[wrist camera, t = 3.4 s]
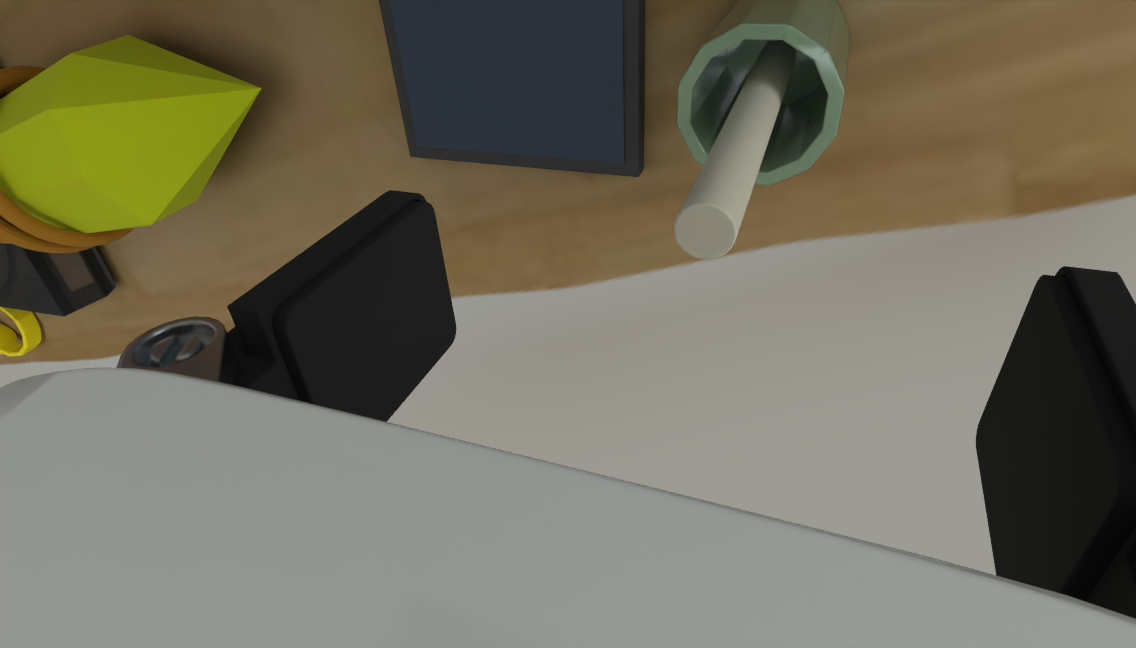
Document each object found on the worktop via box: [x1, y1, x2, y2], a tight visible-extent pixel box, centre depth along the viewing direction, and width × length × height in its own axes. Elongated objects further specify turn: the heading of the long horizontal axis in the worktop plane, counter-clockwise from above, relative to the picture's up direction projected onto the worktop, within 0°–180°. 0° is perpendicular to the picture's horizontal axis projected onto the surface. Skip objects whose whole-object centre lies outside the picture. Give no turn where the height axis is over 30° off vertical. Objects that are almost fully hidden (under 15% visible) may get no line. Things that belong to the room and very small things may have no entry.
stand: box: [677, 0, 850, 185], centre depth 21 cm, size 4×4×7 cm
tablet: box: [379, 0, 645, 177], centre depth 27 cm, size 11×8×1 cm
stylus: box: [674, 40, 796, 259], centre depth 18 cm, size 1×1×14 cm
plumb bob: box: [0, 35, 262, 253], centre depth 33 cm, size 9×9×25 cm
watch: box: [0, 307, 41, 356], centre depth 54 cm, size 6×3×6 cm
